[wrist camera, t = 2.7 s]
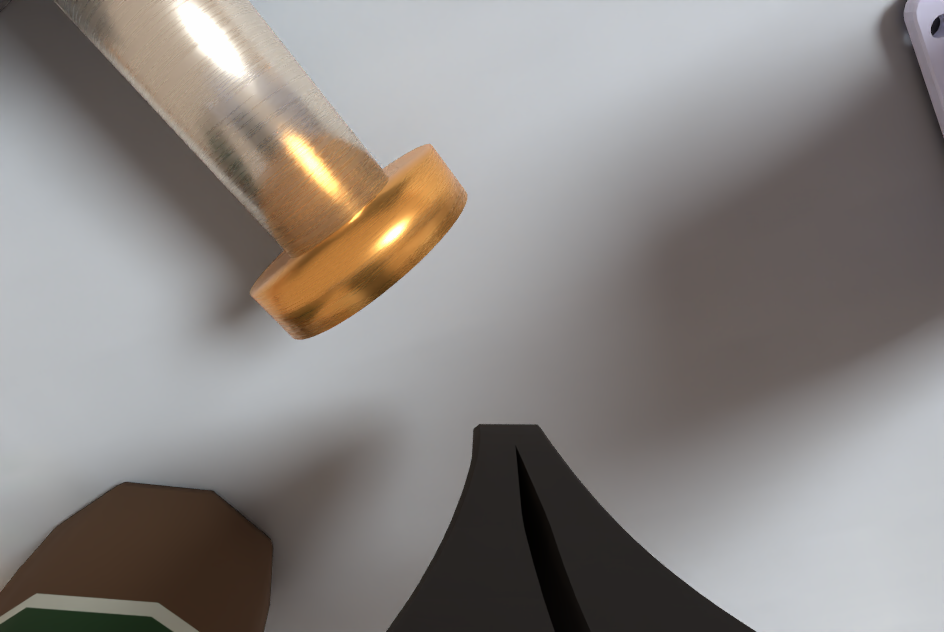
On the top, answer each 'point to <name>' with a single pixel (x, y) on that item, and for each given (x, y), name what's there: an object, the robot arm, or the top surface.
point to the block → (3, 4)
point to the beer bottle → (145, 568)
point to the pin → (279, 153)
